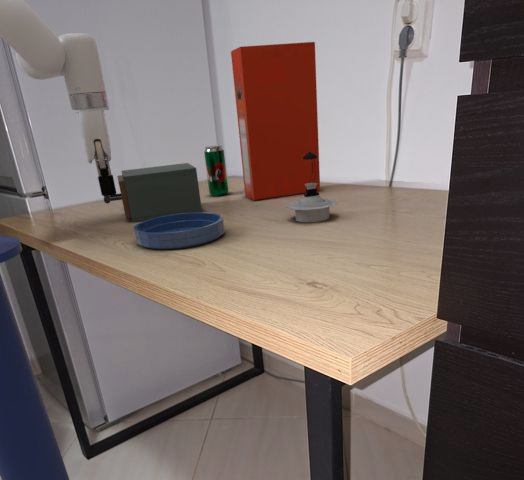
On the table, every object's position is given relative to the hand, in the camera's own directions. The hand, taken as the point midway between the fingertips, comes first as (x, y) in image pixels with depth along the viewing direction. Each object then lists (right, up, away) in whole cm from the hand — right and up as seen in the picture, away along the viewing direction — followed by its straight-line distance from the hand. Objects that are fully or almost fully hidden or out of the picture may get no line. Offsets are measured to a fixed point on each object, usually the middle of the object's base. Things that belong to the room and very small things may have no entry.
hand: (109, 194), depth 112 cm
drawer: (+8, -3, +4) cm, 9 cm away
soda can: (+23, +6, +20) cm, 31 cm away
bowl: (+19, -14, -20) cm, 31 cm away
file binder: (+39, +4, +14) cm, 42 cm away
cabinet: (+12, -3, +5) cm, 13 cm away
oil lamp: (+44, -9, -14) cm, 47 cm away
